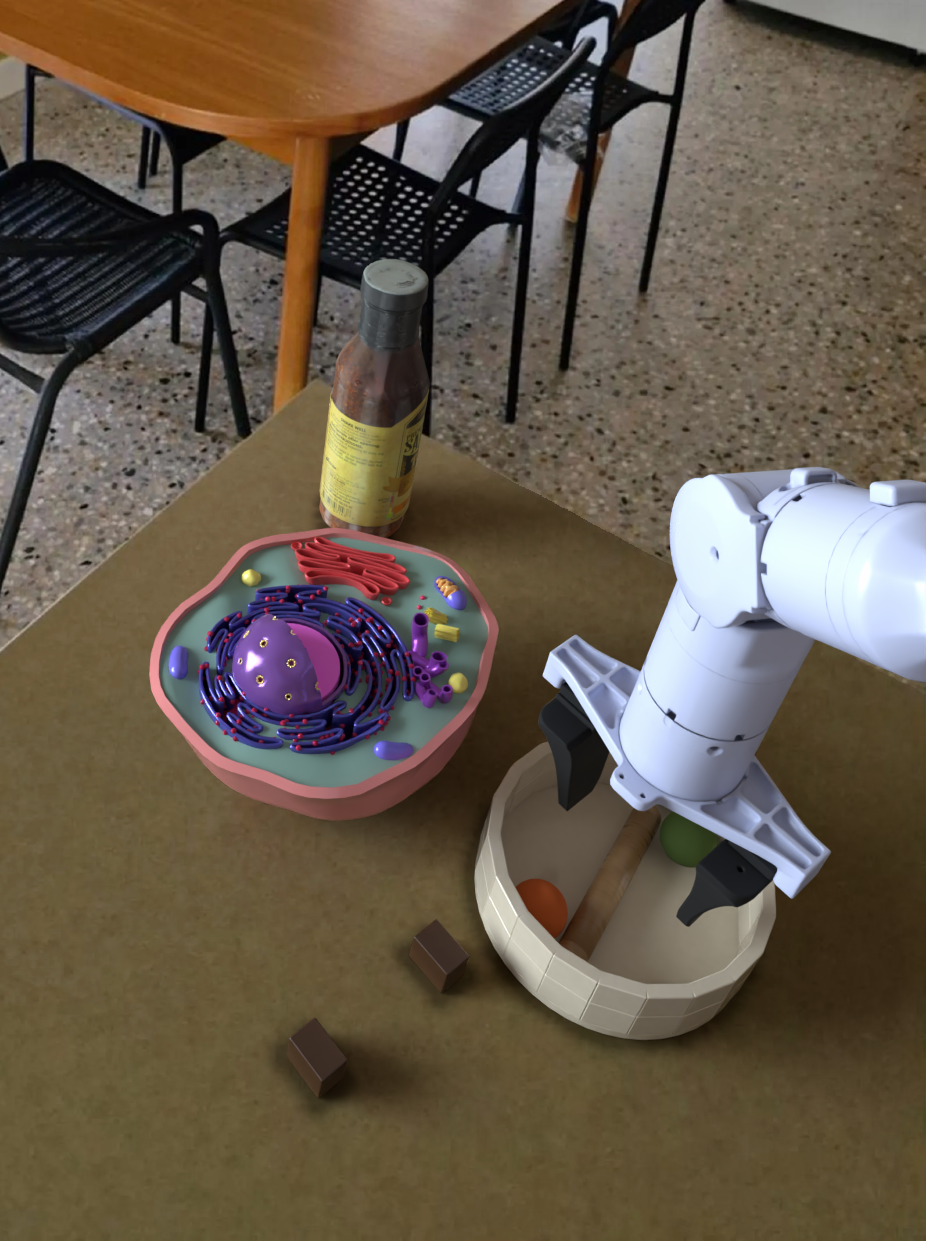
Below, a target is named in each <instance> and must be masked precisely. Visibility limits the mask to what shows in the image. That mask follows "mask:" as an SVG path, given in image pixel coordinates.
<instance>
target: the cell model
mask: <svg viewBox="0 0 926 1241" xmlns="http://www.w3.org/2000/svg"><path fill="white" fill-rule="evenodd" d="M499 631H500V627H499V624H498V621H497V618H496V616H495V614H494V612H493V611H492V609H491V607H490V606H489V603H488V602H487V601H486V599H485V598H484V596H483V595H482V593H481V591H480V590H479V588H478V587H477V585H476V584H475V583H474V581H473V579H472V578H471V576H470V574H468V572H466V570H464V569H463V568H462V567H461V566H460V565H459V564H458V563H457V562H456V561H454V560H453V559H451V558H449V557H448V556H446V555H445V554H442V553H441V552H437V551H434V550H431V549H428V548H425V547H423V546H419V545H415V544H411V543H407V542H403V541H400V540H399V541H398V540H395V539H390V538H388V537H387V538H383V537H379V536H375V535H371V534H367V533H363V532H359V531H355V530H349V529H342V528H330V527H324V528H318V529H311V530H305V531H297V532H288V533H279V534H273V535H269V536H264V537H261V538H258V539H255V540H253V541H252V540H251V541H249V542H247V543H245V544H244V545H243V546H241V547H240V548H239V549H238V550H236V552H235V553H234V554H233V555H232V556H231V557H230V559H229V560H228V561H227V563H226V564H224V566H223V567H222V568H221V570H219V572H218V573H217V574H216V575H215V577H214V578H213V579H212V580H211V581H210V582H209V583H208V584H206V586H204V587H203V588H201V589H199V591H197V592H196V593H194V594H193V595H191V596H190V597H189V598H187V599H185V600H184V601H183V602H181V603H180V604H179V605H178V606H177V607H176V608H175V609H174V610H173V611H172V612H171V613H170V614H169V616H168V617H167V619H166V620H165V621H164V622H163V624H162V625H161V626H160V629H159V630H158V633H156V636H155V638H154V642H153V646H152V649H151V652H150V658H149V659H150V660H149V670H148V671H149V673H148V674H149V682H150V690H151V692H152V695H153V697H154V699H155V702H156V703H157V705H158V706H159V708H160V710H161V711H162V712H163V714H164V715H165V716H166V718H167V719H168V720H169V721H170V723H172V724H173V726H174V727H175V728H176V729H177V731H179V733H180V734H181V735H182V737H183V738H184V740H185V742H186V743H187V744H188V745H189V747H190V748H191V749H192V751H193V752H194V754H195V755H196V757H197V758H198V759H199V761H200V762H201V763H202V764H203V765H204V766H205V767H206V769H207V770H208V771H209V772H210V773H211V774H212V775H213V776H214V777H215V778H217V780H219V781H220V782H221V783H223V784H224V785H225V786H226V787H228V788H229V789H230V790H232V791H234V792H236V793H238V794H240V795H242V796H244V797H246V798H248V799H251V800H254V801H257V802H259V803H261V804H262V803H263V804H265V805H267V806H272V807H276V808H279V809H283V810H287V811H289V812H293V813H296V814H300V815H302V816H306V817H309V818H312V819H315V820H320V821H330V822H344V821H353V820H361V819H367V818H370V817H374V816H376V815H379V814H381V813H383V812H385V811H388V810H390V809H392V808H395V807H396V806H397V805H398V804H400V803H402V802H403V801H405V800H406V799H407V798H409V797H410V796H412V795H414V794H415V793H416V792H418V791H419V790H421V789H422V788H423V787H425V786H426V785H427V784H428V783H430V782H431V781H432V780H434V779H435V778H436V777H437V776H438V774H440V772H442V770H444V768H446V767H447V765H448V764H450V762H451V760H452V759H453V757H454V755H456V753H457V752H458V750H459V749H460V748H461V746H462V744H463V743H464V741H465V738H466V736H467V735H468V733H469V731H470V730H471V726H472V724H473V721H474V718H475V716H476V713H477V711H478V709H479V706H480V703H481V701H482V699H483V696H484V694H485V691H486V689H487V686H488V681H489V678H490V675H491V670H492V664H493V660H494V654H495V650H496V646H497V641H498V635H499Z"/></svg>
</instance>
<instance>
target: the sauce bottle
mask: <svg viewBox="0 0 926 1241" xmlns="http://www.w3.org/2000/svg"><path fill="white" fill-rule="evenodd" d="M428 291H429V276H428V275H427V273H426V271H424V270H423V269H422V268H420V267H419V266H417V265H416V264H414V263H411V262H408V261H406V260H403V259H396V258H388V259H385V258H384V259H379V260H376V261H374V262H372V263H370V264H369V265H366V267H365V268H364V270H363V272H362V277H361V284H360V297H361V299H362V300H361V309H360V317H359V320H357V332H356V334H355V335H353V336H351V338H350V339H349V340H348V341H347V342H346V343H345V345H344V346H343V347H342V348H341V350H340V352H339V354H338V356H337V358H336V361H335V367H334V379H333V386H332V389H331V391H330V396H329V405H328V406H329V407H328V413H327V414H328V415H327V424H326V431H325V441H324V448H323V458H322V467H321V476H320V484H319V498H320V502H319V512H320V515H321V519H322V520H323V521H324V523H325V524H326V525H327V526H328V527H329V528H342V529H349V530H355V531H359V532H363V533H367V534H371V535H375V536H379V537H383V538H387V539H388V538H389V537H390V536H392V535H393V534H395V533H396V532H397V531H398V529H399V528H400V526H402V523H403V520H405V514H406V512H407V510H408V508H409V505H410V500H411V495H412V490H413V489H412V488H413V483H414V478H415V473H416V466H417V460H418V457H419V450H420V443H421V440H422V434H423V427H424V422H425V414H426V410H427V405H428V404H427V403H428V398H429V392H430V386H431V382H430V378H429V374H428V369H427V366H426V361H425V358H424V354H423V349H422V346H421V342H420V324H421V316H422V315H423V314H422V313H423V306H424V304H425V303H426V302H427V299H428V293H429V292H428Z"/></svg>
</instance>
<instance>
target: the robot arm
mask: <svg viewBox="0 0 926 1241" xmlns="http://www.w3.org/2000/svg"><path fill="white" fill-rule="evenodd" d="M670 514H671V515H670V521H669V546H670V553H671V554H670V555H671V560H672V566H673V570H674V573H675V576H676V582H675V585H674V587H673V590H672V592H671V595H670V596H669V597H670V598H669V600H668V603H667V604H666V608H665V610H664V613H663V615H662V618H661V620H660V623H659V625H658V628H657V629H656V633H655V635H654V638H653V640H652V642H651V645H650V647H649V650H648V652H647V655H646V657H645V660H644V662H643V664H642V667H641V670H639V669H637V668H635V667H632V666H631V665H629V664H626V663H624V662H622V661H620V660H618V659H616V658H613V657H612V656H610V655H608V654H606V653H604V652H602V651H600V650H598V649H597V648H595V647H593V646H592V645H591V644H589V643H588V642H587V641H586V640H584V639H582V637H580V636H579V635H578V634H574V635H573V636H571V637H570V638H567V639H566V640H565V641H564V642H562V643H561V644H560V645H558V646H557V647H555V648H553V649H552V650H551V651H550V652H549V655H548V658H547V661H546V663H545V667H544V670H543V673H542V677H543V678H544V679H545V680H546V681H547V682H548V683H549V684H551V685H552V686H553V687H554V688H556V689H559V692H556V694H555V697H554V698H553V699H552V700H549V702H547V703H546V704H544V706H543V707H542V708H541V710H540V712H539V715H538V720H537V721H538V722H537V725H538V726H539V728H540V730H541V731H542V733H543V735H544V737H545V738H546V742H548V743H549V746H550V748H551V751H552V754H553V758H554V762H555V768H556V774H557V785H558V803H559V804H560V805H561V806H562V807H563V808H564V809H565V810H566V811H569V810H570V809H571V808H572V807H574V806H575V805H576V804H577V803H579V802H580V801H581V800H582V799H583V798H585V797H586V796H587V795H588V794H590V793H591V792H592V791H593V789H594V788H595V786H596V784H597V782H598V780H599V779H600V776H601V774H602V771H603V768H604V766H605V763H606V760H607V757H608V755H609V752H610V753H611V755H612V756H613V758H614V759H615V761H616V763H617V764H618V767H617V768H616V769H615V770H614V772H613V774H612V776H611V778H610V785H611V786H612V788H613V789H614V790H615V791H616V792H617V793H618V794H619V795H620V796H621V797H623V798H624V799H625V800H626V801H627V802H628V803H629V804H630V805H631V806H632V807H634V808H635V809H637V810H638V811H646V810H649V809H650V808H651V807H652V806H654V805H656V804H658V805H662V806H664V807H666V808H668V809H670V810H671V811H673V812H675V813H677V814H679V815H681V816H683V817H685V818H687V819H689V820H691V821H693V822H695V823H697V824H698V825H700V826H702V827H704V828H706V829H708V830H710V831H712V832H714V833H716V834H718V835H720V836H722V837H723V838H725V840H723V841H722V842H721V843H720V844H719V845H718V846H717V847H715V848H714V849H713V850H712V851H711V852H710V853H709V854H708V855H707V856H706V857H704V858H703V859H702V860H701V861H700V862H699V863H698V864H697V866H696V877H695V881H694V884H693V887H692V890H691V892H690V894H689V895H688V897H687V898H686V900H685V901H684V902H683V904H682V905H681V906H680V908H679V909H678V912H677V915H676V917H677V918H678V919H679V920H680V921H681V922H682V923H683V924H684V925H685V926H687V927H690V926H691V925H692V924H693V923H694V922H695V921H696V920H697V919H698V918H699V917H700V916H701V915H702V914H703V913H705V912H707V911H709V910H712V909H714V908H718V907H724V906H733V907H737V908H738V907H740V906H742V905H744V904H746V903H748V902H750V901H752V900H753V899H754V898H755V897H756V896H757V895H758V894H759V893H760V892H761V891H762V890H763V889H764V888H766V887H767V886H768V885H769V884H770V883H771V882H772V881H774V883H775V887H777V888H778V889H779V890H781V891H782V892H783V893H784V894H785V895H786V896H787V897H788V898H790V899H794V898H796V896H797V895H798V894H799V893H800V892H801V891H802V890H803V889H804V888H805V887H807V885H808V884H809V883H810V882H811V881H812V880H813V879H814V878H815V877H816V876H817V875H818V874H819V872H820V871H821V869H822V867H823V866H824V864H825V863H826V861H827V860H828V858H829V856H831V853H832V851H831V850H830V849H829V848H828V847H827V846H826V845H825V844H824V843H823V842H822V841H821V840H819V839H818V838H817V837H816V836H815V834H813V832H812V831H811V830H810V828H808V827H807V826H806V825H805V823H804V822H803V820H802V819H801V818H800V817H799V816H798V814H797V812H796V811H795V810H794V809H793V807H792V805H791V804H790V803H789V802H788V800H787V799H786V797H785V796H784V795H783V793H782V792H781V790H780V789H779V788H778V786H777V784H776V783H775V782H774V780H773V779H772V777H771V776H770V775H769V773H768V772H767V771H766V769H765V768H764V766H763V765H762V763H761V762H760V760H759V759H758V758H757V756H756V753H757V751H758V749H759V747H760V746H761V743H762V742H763V740H764V738H765V736H766V734H767V732H768V731H769V728H770V727H771V725H772V723H773V720H774V719H775V717H776V715H777V713H778V711H779V709H780V707H781V705H782V704H783V702H784V700H785V698H786V696H787V694H788V692H789V691H790V689H791V686H792V685H793V682H794V681H795V679H796V677H797V676H798V673H799V671H800V669H801V668H802V667H803V666H802V665H803V664H804V662H805V660H806V658H807V657H808V654H809V653H810V651H811V649H812V648H813V645H814V644H815V641H818V642H820V643H822V644H825V645H827V646H829V647H832V648H835V649H837V650H839V651H841V652H844V653H847V654H849V655H851V656H853V657H856V658H859V659H860V660H863V661H865V662H867V663H870V664H871V665H874V666H876V667H878V668H881V669H883V670H886V671H888V672H891V673H893V674H895V675H898V676H900V677H902V678H904V679H907V680H910V681H914V682H920V683H926V482H925V481H924V482H923V481H919V480H915V479H895V480H881V481H880V480H879V481H873V482H871V483H870V485H869V488H864V487H861V486H860V485H859V484H857V483H856V482H855V481H852V480H850V479H847V478H846V476H844V475H843V474H841V473H840V472H838V471H837V470H834V469H832V468H830V467H824V466H823V467H822V466H810V467H809V466H808V467H796V468H790V469H778V470H777V469H775V470H762V471H746V472H733V473H732V472H730V473H717V474H716V473H712V474H707V475H706V476H704V477H694V478H690V479H689V480H687V481H686V482H685V483H683V485H682V486H681V487H680V489H679V490H678V492H677V494H676V496H675V499H674V501H673V505H672V508H671V513H670Z"/></svg>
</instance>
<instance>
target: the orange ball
mask: <svg viewBox="0 0 926 1241" xmlns="http://www.w3.org/2000/svg"><path fill="white" fill-rule="evenodd" d="M516 889H517V891H518V893H519V895H520V897H521V898H522V900H523V902H524V904H525V906H526V908H527V910H528V911H529V912H530V913H531V914H532V916H533V917H534V918H535V919H536V920H537V921H538V922H539V923H540V924H541V925H542V926H543V927H544V928H545V929H546V930H547V931H548V932H549V933H550V935H551V936H552V937H553V938H554V939H555V938H556V937H558V936H559V935H560V934H561V932H562V931H563V930H564V928H565V925H566V923H567V918H568V909H567V904H566V901H565V898H564V896H563V895H562V893H561V892H560V891H559V889H558V888H557V887H556V886H554V885H553V884H552V883H550V882H548V881H546V880H542V879H528V880H525V881H523V882H521V883H520V884H518V885H517V886H516Z"/></svg>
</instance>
